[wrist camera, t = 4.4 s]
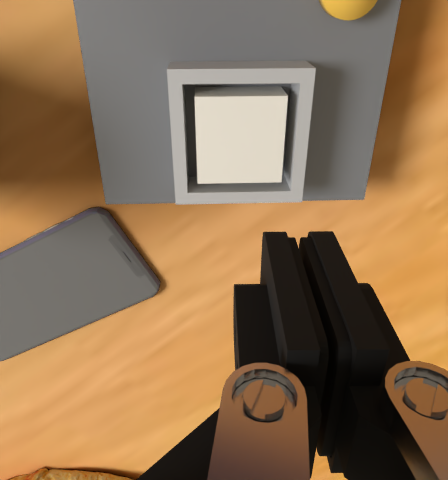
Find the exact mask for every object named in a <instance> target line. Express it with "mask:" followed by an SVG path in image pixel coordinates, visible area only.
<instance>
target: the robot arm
mask: <svg viewBox="0 0 448 480" xmlns="http://www.w3.org/2000/svg"><path fill="white" fill-rule="evenodd" d="M234 353H235V371H234V372H233V373H232V374H231V375H230V376H229V377H228V379H227V380H226V382H225V385H224V388H223V391H222V397H221V403H220V408H219V409H218V410H217V411H215V412H214V413H213V414H212V415H211V416H210V417H209V418H207V419H206V420H205V421H204V422H203V423H202V424H200V425H199V426H198V427H197V428H196V429H195V430H193V431H192V432H191V433H190V434H189V435H188V436H186V437H185V438H184V439H183V440H182V441H181V442H179V443H178V444H177V445H176V446H175V447H174V448H173V449H171V450H170V451H169V452H168V453H167V454H166V455H164V456H163V457H162V458H161V459H160V460H159V461H157V462H156V463H155V464H154V465H153V466H152V467H150V468H149V469H148V470H147V471H146V472H145V473H143V474H142V475H141V476H140V477H139V478H138V479H136V480H310V478H311V475H312V469H313V463H314V458H315V452H316V448H317V452H318V454H319V456H327V458H328V463H329V467H330V471H331V473H343V474H344V477H345V478H347V479H348V480H448V371H447V370H445V369H443V368H440V367H438V366H436V365H433V364H430V363H425V362H421V361H410V359H409V357H408V355H407V353H406V351H405V349H404V348H403V346H402V344H401V342H400V340H399V338H398V336H397V334H396V332H395V330H394V328H393V327H392V325H391V323H390V321H389V319H388V317H387V315H386V313H385V311H384V309H383V307H382V305H381V304H380V302H379V300H378V298H377V296H376V294H375V292H374V290H373V288H372V287H371V286H370V284H368V283H358V282H357V280H356V278H355V276H354V274H353V272H352V270H351V268H350V266H349V264H348V262H347V259H346V257H345V255H344V253H343V251H342V249H341V247H340V245H339V243H338V241H337V239H336V237H335V235H334V233H333V232H332V231H325V232H309V233H308V237H301V238H300V243H299V249H298V245H297V242H296V239H295V238H288V236H287V233H286V232H263V239H262V258H261V278H260V284H234Z"/></svg>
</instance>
